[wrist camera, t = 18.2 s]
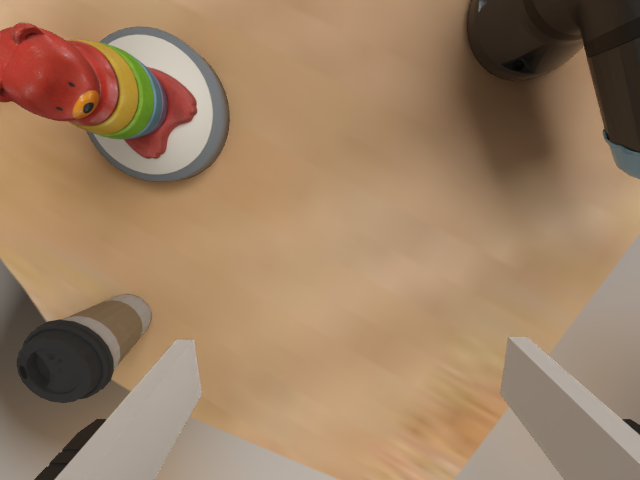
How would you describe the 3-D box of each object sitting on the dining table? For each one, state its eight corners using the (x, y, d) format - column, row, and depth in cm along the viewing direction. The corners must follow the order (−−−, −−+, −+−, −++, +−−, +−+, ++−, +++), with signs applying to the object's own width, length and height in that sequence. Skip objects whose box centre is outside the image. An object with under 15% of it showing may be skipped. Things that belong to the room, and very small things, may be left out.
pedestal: (174, 7, 40) (158, -10, 36) (255, 135, 44) (248, 133, 40) (71, 90, 43) (45, 82, 39) (154, 203, 47) (139, 207, 43)
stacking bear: (154, 165, 41) (28, 167, 24) (94, 109, 40) (-87, 67, 22) (205, 106, 39) (107, 60, 22) (143, 44, 38) (-15, -59, 20)
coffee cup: (91, 282, 50) (-5, 331, 36) (158, 281, 50) (88, 329, 35) (105, 342, 53) (21, 410, 38) (169, 342, 53) (108, 410, 38)
